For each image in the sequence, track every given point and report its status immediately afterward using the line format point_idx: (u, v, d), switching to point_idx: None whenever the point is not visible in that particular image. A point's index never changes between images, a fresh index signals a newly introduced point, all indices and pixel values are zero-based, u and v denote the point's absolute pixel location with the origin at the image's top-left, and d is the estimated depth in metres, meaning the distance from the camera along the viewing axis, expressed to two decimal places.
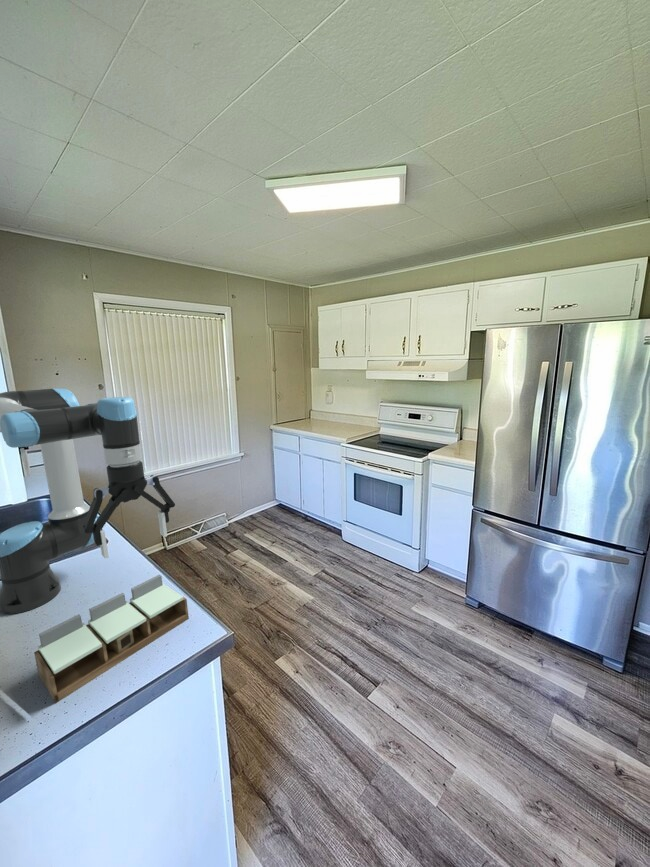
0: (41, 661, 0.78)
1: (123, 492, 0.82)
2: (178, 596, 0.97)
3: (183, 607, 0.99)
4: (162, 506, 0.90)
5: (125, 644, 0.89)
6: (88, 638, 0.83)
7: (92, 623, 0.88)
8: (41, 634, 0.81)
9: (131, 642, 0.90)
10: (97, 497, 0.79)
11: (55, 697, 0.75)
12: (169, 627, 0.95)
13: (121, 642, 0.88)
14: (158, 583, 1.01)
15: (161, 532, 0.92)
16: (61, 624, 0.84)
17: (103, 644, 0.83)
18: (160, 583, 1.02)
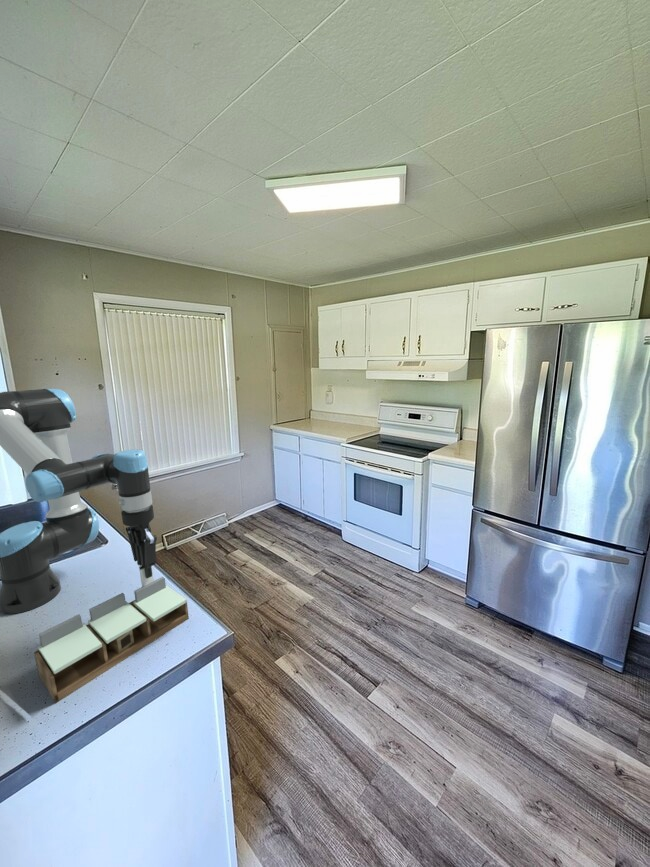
0: (41, 661, 0.78)
1: (130, 531, 0.95)
2: (182, 599, 0.96)
3: (183, 607, 0.99)
4: (142, 562, 0.96)
5: (125, 644, 0.89)
6: (88, 638, 0.83)
7: (92, 623, 0.88)
8: (41, 634, 0.81)
9: (131, 642, 0.90)
10: (127, 533, 0.99)
11: (55, 697, 0.75)
12: (169, 627, 0.95)
13: (121, 642, 0.88)
14: (161, 585, 1.00)
15: None
16: (61, 624, 0.84)
17: (103, 644, 0.83)
18: (163, 585, 1.01)
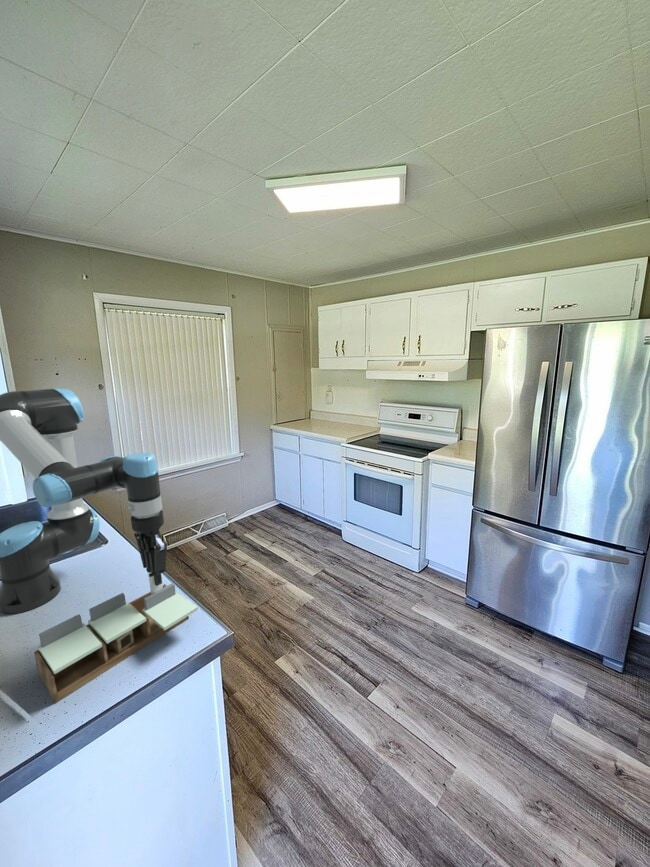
0: (41, 661, 0.78)
1: (139, 537, 0.92)
2: (192, 606, 0.93)
3: None
4: (151, 569, 0.93)
5: (125, 644, 0.89)
6: (88, 638, 0.83)
7: (92, 623, 0.88)
8: (41, 634, 0.81)
9: (131, 642, 0.90)
10: (136, 539, 0.96)
11: (55, 697, 0.75)
12: None
13: (121, 642, 0.88)
14: (170, 592, 0.97)
15: None
16: (61, 624, 0.84)
17: (103, 644, 0.83)
18: (173, 592, 0.98)
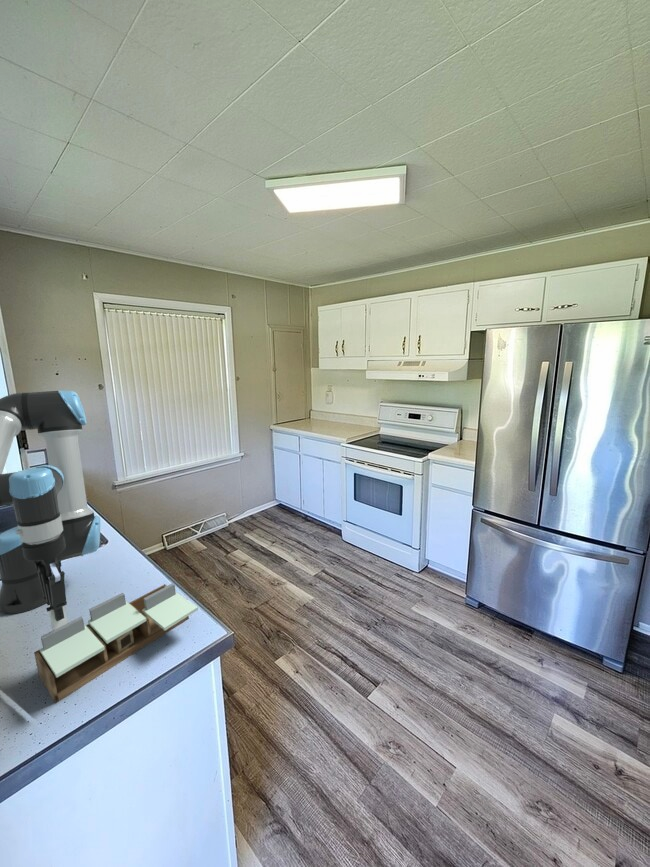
0: (41, 661, 0.78)
1: (35, 566, 0.80)
2: (193, 606, 0.93)
3: None
4: (50, 602, 0.80)
5: (125, 644, 0.89)
6: (90, 641, 0.82)
7: (92, 623, 0.88)
8: (43, 637, 0.80)
9: (131, 642, 0.90)
10: None
11: (55, 697, 0.75)
12: None
13: (121, 642, 0.88)
14: (171, 592, 0.97)
15: None
16: (63, 627, 0.83)
17: (103, 644, 0.83)
18: (173, 592, 0.98)
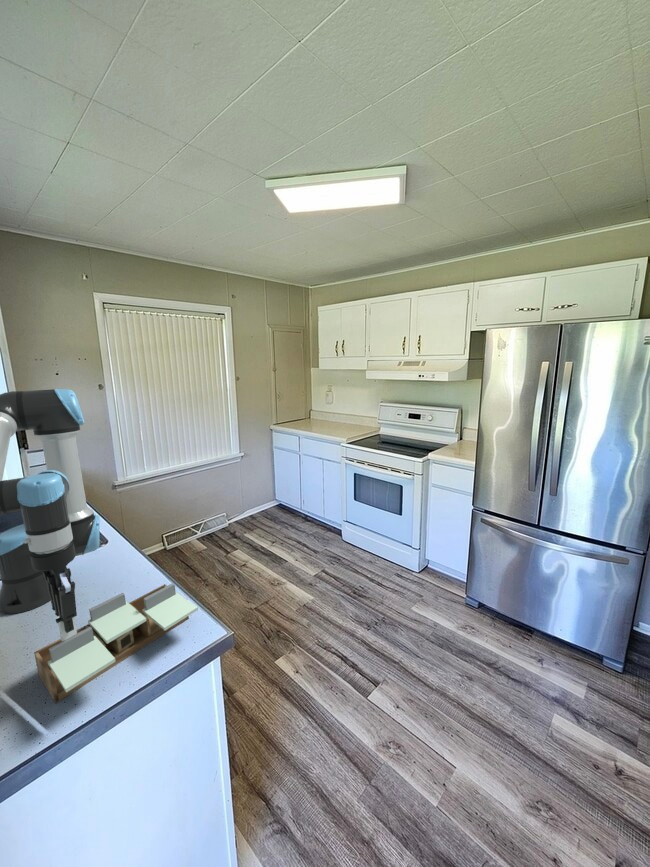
0: (41, 661, 0.78)
1: (44, 575, 0.76)
2: (193, 606, 0.93)
3: None
4: (59, 613, 0.77)
5: (125, 644, 0.89)
6: (100, 652, 0.79)
7: (92, 623, 0.88)
8: (51, 649, 0.76)
9: (131, 642, 0.90)
10: None
11: (55, 697, 0.75)
12: None
13: (121, 642, 0.88)
14: (171, 592, 0.97)
15: None
16: (72, 637, 0.79)
17: (103, 644, 0.83)
18: (173, 592, 0.98)
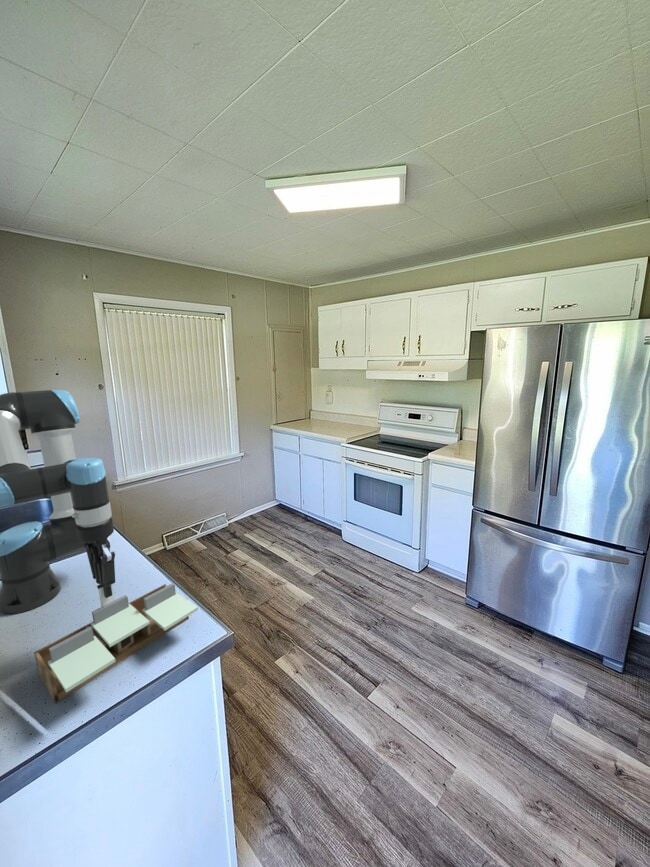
0: (41, 661, 0.78)
1: (87, 547, 0.88)
2: (193, 606, 0.93)
3: None
4: (100, 580, 0.88)
5: (125, 644, 0.89)
6: (100, 652, 0.79)
7: (95, 626, 0.87)
8: (51, 649, 0.76)
9: (131, 642, 0.90)
10: (85, 548, 0.91)
11: (55, 697, 0.75)
12: None
13: (121, 642, 0.88)
14: (171, 592, 0.97)
15: None
16: (72, 637, 0.79)
17: (103, 644, 0.83)
18: (173, 592, 0.98)
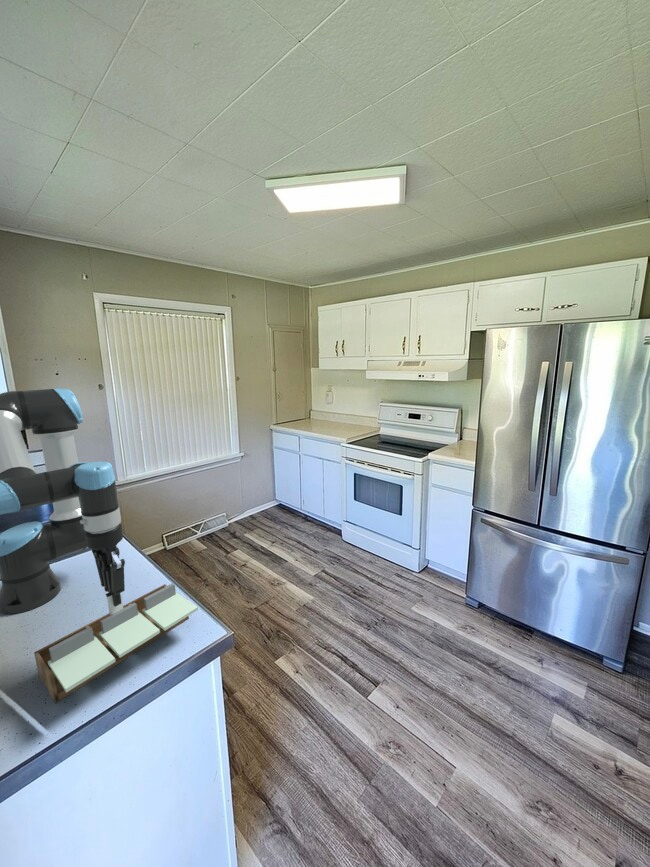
0: (41, 661, 0.78)
1: (95, 554, 0.84)
2: (193, 606, 0.93)
3: None
4: (109, 588, 0.85)
5: None
6: (100, 652, 0.79)
7: (103, 635, 0.84)
8: (51, 649, 0.76)
9: None
10: None
11: (55, 697, 0.75)
12: None
13: None
14: (171, 592, 0.97)
15: None
16: (72, 637, 0.79)
17: (103, 644, 0.83)
18: (173, 592, 0.98)
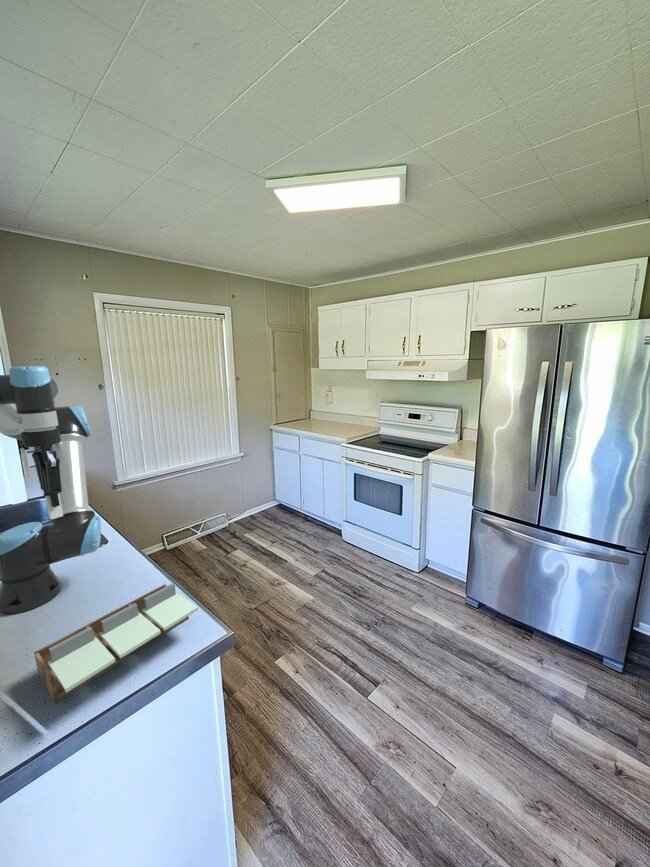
0: (41, 661, 0.78)
1: (33, 455, 0.89)
2: (193, 606, 0.93)
3: None
4: (46, 488, 0.89)
5: None
6: (100, 652, 0.79)
7: (104, 636, 0.84)
8: (51, 649, 0.76)
9: None
10: None
11: (55, 697, 0.75)
12: None
13: None
14: (171, 592, 0.97)
15: None
16: (72, 637, 0.79)
17: (103, 644, 0.83)
18: (173, 592, 0.98)
